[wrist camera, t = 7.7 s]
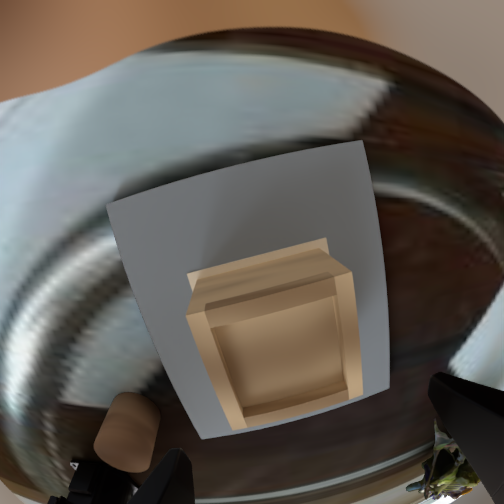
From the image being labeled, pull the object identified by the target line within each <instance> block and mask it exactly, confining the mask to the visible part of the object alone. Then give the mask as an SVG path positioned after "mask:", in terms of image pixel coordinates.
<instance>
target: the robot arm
mask: <svg viewBox="0 0 504 504" xmlns="http://www.w3.org/2000/svg"><path fill="white" fill-rule="evenodd" d="M428 396H429V398H430V400H431V402H432V404H433V406H434V408H435V409H436V411H437V413H438V415H439V417H440V419H441V421H442V423H443V424H444V426H445V428H446V429H447V431H448V432H449V434H450V435H451V437H452V438H453V439H454V441H455V442H456V444H457V445H458V447H459V448H460V450H461V451H462V453H463V454H464V456H465V457H466V459H467V460H468V462H469V463H470V465H471V466H472V468H473V469H474V471H475V472H476V474H477V476H478V477H479V479H480V480H481V482H482V483H483V485H484V487H485V488H486V490H487V491H488V493H489V494H490V496H491V497H492V500H493V501H494V503H495V504H504V391H502V390H498V389H495V388H491V387H488V386H484V385H481V384H478V383H475V382H471V381H468V380H465V379H462V378H458V377H455V376H452V375H449V374H446V373H443V372H438V373H436V374H434V375H432V376H431V377H430V379H429V387H428ZM70 464H71V466H72V467H73V468H74V469H75V470H76V471H75V473H74V476H73V478H72V481H71V483H70V485H69V488H68V490H69V491H70V492H69V494H68V497H67V499H66V498H65V497H63V496H60V497H59V498H58V497H54V496H50V499H49V501H48V503H47V504H195V497H194V486H193V474H192V464H191V461H190V459H189V458H188V457H187V455H186V454H185V452H184V451H183V449H181V448H173V449H170V450H169V451H168V452H167V453H166V455H165V456H164V457H163V458H162V460H161V461H160V462H159V464H158V465H157V466H156V467H155V469H154V470H153V471H152V473H151V474H150V475H149V476H148V478H147V479H146V480H145V481H144V483H143V484H142V485H141V486H140V488H139V487H138V486H137V485H136V484H135V483H134V481H133V480H132V479H131V478H130V477H129V476H128V475H127V474H126V473H125V472H124V471H122V470H119V469H117V468H115V467H112V466H111V465H109V464H107V463H101V462H87V461H76V460H71V462H70Z"/></svg>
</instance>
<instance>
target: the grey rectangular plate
mask: <svg viewBox="0 0 504 504" xmlns="http://www.w3.org/2000/svg"><path fill="white" fill-rule="evenodd" d="M106 208H107V212H108V216H109V219H110V223H111V226H112V230H113V233H114V237H115V240H116V243H117V246H118V250H119V253H120V256H121V259H122V262H123V265H124V268H125V271H126V274H127V277H128V280H129V282H130V285H131V288H132V291H133V293H134V296H135V299H136V301H137V304H138V307H139V309H140V312H141V314H142V317H143V319H144V322H145V324H146V327H147V329H148V332H149V334H150V336H151V339H152V341H153V343H154V346H155V348H156V350H157V353H158V355H159V357H160V359H161V361H162V364H163V366H164V368H165V370H166V372H167V374H168V376H169V379H170V381H171V383H172V385H173V387H174V389H175V391H176V393H177V395H178V397H179V399H180V401H181V403H182V405H183V406H184V408H185V410H186V412H187V414H188V416H189V418H190V420H191V421H192V423H193V425H194V427H195V429H196V430H197V432H198V434H199V436H200V437H201V439H207V438H214V437H220V436H226V435H232V434H238V433H243V432H248V431H253V430H258V429H262V428H267V427H271V426H275V425H279V424H283V423H287V422H291V421H295V420H299V419H302V418H306V417H309V416H313V415H316V414H319V413H322V412H326V411H329V410H332V409H335V408H338V407H341V406H344V405H347V404H349V403H352V402H355V401H358V400H360V399H363V398H366V397H368V396H371V395H373V394H376V393H378V392H381V391H383V390H386V389H388V388H389V374H390V352H389V319H388V302H387V289H386V277H385V267H384V258H383V250H382V242H381V235H380V228H379V221H378V215H377V209H376V203H375V197H374V192H373V186H372V181H371V176H370V171H369V167H368V162H367V158H366V153H365V149H364V145H363V141H362V140H359V141H353V142H346V143H340V144H334V145H329V146H323V147H317V148H312V149H307V150H302V151H297V152H292V153H287V154H282V155H278V156H273V157H268V158H264V159H260V160H255V161H251V162H247V163H243V164H239V165H235V166H231V167H227V168H223V169H219V170H215V171H211V172H208V173H204V174H200V175H197V176H193V177H190V178H186V179H183V180H180V181H176V182H173V183H169V184H166V185H163V186H160V187H156V188H153V189H150V190H147V191H144V192H141V193H138V194H135V195H132V196H129V197H126V198H123V199H120V200H117V201H114V202H112V203H109V204H106ZM316 248H320V249H321V250H323V251H324V252H325V253H327V254H328V255H330V256H331V257H332V258H334V259H335V260H337V261H338V262H339V263H341V264H342V265H343V266H345V267H346V268H348V269H349V270H350V271H352V276H353V283H354V291H355V299H356V308H357V317H358V327H359V337H360V349H361V363H362V380H363V395H361V396H358V397H355V398H353V399H350V400H347V401H344V402H341V403H338V404H335V405H332V406H329V407H326V408H323V409H320V410H316V411H313V412H310V413H306V414H303V415H299V416H295V417H292V418H288V419H284V420H280V421H276V422H272V423H267V424H263V425H258V426H254V427H249V428H244V429H238V430H233V431H232V428H231V426H230V424H229V422H228V420H227V417H226V415H225V413H224V411H223V408H222V406H221V404H220V402H219V399H218V397H217V395H216V392H215V390H214V388H213V385H212V383H211V380H210V378H209V376H208V373H207V371H206V368H205V366H204V363H203V361H202V358H201V356H200V353H199V350H198V348H197V345H196V343H195V340H194V337H193V335H192V332H191V329H190V327H189V324H188V321H187V318H186V313H187V309H188V306H189V303H190V300H191V297H192V293H193V290H194V287H195V284H196V281H197V279H201V278H205V277H209V276H213V275H217V274H220V273H224V272H228V271H232V270H236V269H240V268H244V267H248V266H252V265H255V264H259V263H263V262H267V261H271V260H275V259H278V258H282V257H286V256H290V255H294V254H297V253H301V252H305V251H309V250H313V249H316Z"/></svg>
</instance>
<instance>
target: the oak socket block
mask: <svg viewBox="0 0 504 504" xmlns="http://www.w3.org/2000/svg"><path fill="white" fill-rule="evenodd" d="M186 318H187V321H188V324H189V327H190V329H191V332H192V335H193V337H194V340H195V343H196V345H197V348H198V350H199V353H200V356H201V358H202V361H203V363H204V366H205V368H206V371H207V373H208V376H209V378H210V380H211V383H212V385H213V388H214V390H215V392H216V395H217V397H218V399H219V402H220V404H221V406H222V408H223V411H224V413H225V415H226V417H227V420H228V422H229V424H230V426H231V428H232V431H233V430H238V429H244V428H249V427H254V426H258V425H263V424H267V423H272V422H276V421H280V420H284V419H288V418H292V417H295V416H299V415H303V414H306V413H310V412H313V411H316V410H320V409H323V408H326V407H329V406H332V405H335V404H338V403H341V402H344V401H347V400H350V399H353V398H355V397H358V396H361V395H363V380H362V363H361V349H360V337H359V327H358V317H357V308H356V299H355V291H354V283H353V276H352V271H350V270H349V269H348V268H346V267H345V266H343V265H342V264H341V263H339V262H338V261H337V260H335V259H334V258H332V257H331V256H330V255H328V254H327V253H325V252H324V251H323V250H321V249H320V248H316V249H313V250H309V251H305V252H301V253H297V254H294V255H290V256H286V257H282V258H278V259H275V260H271V261H267V262H263V263H259V264H255V265H252V266H248V267H244V268H240V269H236V270H232V271H228V272H224V273H220V274H217V275H213V276H209V277H205V278H201V279H197V281H196V284H195V287H194V290H193V293H192V297H191V300H190V303H189V306H188V309H187V313H186Z"/></svg>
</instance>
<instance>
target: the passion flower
mask: <svg viewBox="0 0 504 504" xmlns="http://www.w3.org/2000/svg"><path fill="white" fill-rule="evenodd" d="M434 428H435V445H434V447H433V450H434V452H433V456H432V457H431V458H429V459H427V460H426V461H425V462H423V463H422V468H423V469H424V470H425V475H424V478H423V479H422V480H421V481H418V482H415V483H412V484H410V485H408V486H407V487H406V491H408V492H411V491H415V490H419V491H418V492H419V493H424V497H425V499H427V498H428V494H429V493H432V495H430V497H432V496H433V499H434V500H435V499H439V498H440V497H441V495H442V494H443V495H444V498H445V497H446V496H447V495H448V496H450V497H452V498H453V499H457V498H459V496H460V495H464V494H467V493H469V492H470V491H472V488H470V487H474V486H476V485H478V483H479V482H480V481H481V480H480V479H479V477H478V476H477V474H476V472H475V471H474V469H473V468H472V466H471V465H470V463H469V462H468V460H467V459H466V457H465V456H464V454H463V453H462V451H461V450H460V448H459V447H458V445H457V444H456V442H455V443H452V444H449V443H450V442H451V441H453V440H454V439H453V438H452V439H449V438H448V437H447V435H446V433H443V432H441V431H440V430H439V429H438V426H437V422H436V418H435V419H434ZM450 447H455V448H456V449H455V450H454V452H453V453H451V452H450V450H449V448H450ZM443 448H445V449H446V450H445V449H443Z"/></svg>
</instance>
